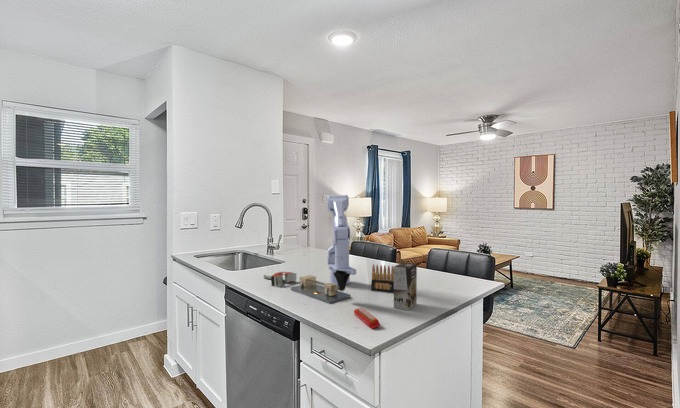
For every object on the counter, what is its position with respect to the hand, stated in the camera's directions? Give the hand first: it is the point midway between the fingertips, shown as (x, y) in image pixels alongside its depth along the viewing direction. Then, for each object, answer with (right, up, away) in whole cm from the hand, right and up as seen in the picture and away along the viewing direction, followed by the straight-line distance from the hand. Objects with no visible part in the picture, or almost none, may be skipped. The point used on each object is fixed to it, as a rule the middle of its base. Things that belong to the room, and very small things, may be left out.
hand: (342, 289), depth 137 cm
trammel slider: (-5, -3, +5) cm, 8 cm away
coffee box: (+25, -5, -6) cm, 26 cm away
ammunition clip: (+18, -5, +14) cm, 24 cm away
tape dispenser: (-31, -5, +32) cm, 45 cm away
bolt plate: (-10, -5, +11) cm, 16 cm away
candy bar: (+8, -6, -21) cm, 23 cm away
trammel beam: (-9, -3, +12) cm, 16 cm away
